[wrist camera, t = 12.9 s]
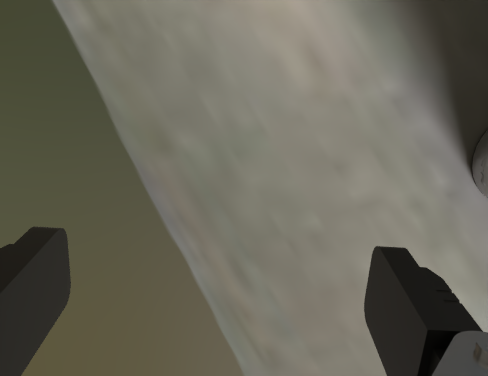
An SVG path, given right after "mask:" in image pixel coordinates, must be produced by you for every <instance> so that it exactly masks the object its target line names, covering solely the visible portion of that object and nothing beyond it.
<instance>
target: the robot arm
mask: <svg viewBox="0 0 488 376" xmlns="http://www.w3.org/2000/svg"><path fill="white" fill-rule="evenodd" d="M472 170H473V177H474V180H475V183H476V185H477V187H478V188H479V190H480V191H481V193H482V194H484V195H485V196H486V197H487V198H488V130H487V131H486V133H485V134H484V135H483V136H482V138H481V140H480V141H479V143H478V145H477V147H476V150H475V153H474V156H473V163H472ZM69 268H70V267H69V255H68V241H67V234H66V232H65V230H64V229H63V228H48V227H32V228H30V229H29V230H28V231H27V232H26V233H25V234H24V235H23V236H22V237H21V238H20V239H19V240H18V241H17V242H15V243H14V244H9V245H6V246H4V247H2V248H0V376H21V375H22V373H23V372H24V370H25V369H26V367H27V365H28V364H29V362H30V361H31V359H32V358H33V356H34V355H35V353H36V351H37V350H38V348H39V347H40V345H41V344H42V342H43V341H44V339H45V337H46V336H47V334H48V333H49V331H50V329H51V328H52V327H53V325H54V323H55V322H56V320H57V319H58V317H59V316H60V314H61V313H62V311H63V310H64V308H65V306H66V304H67V302H68V298H69V294H70V286H71V285H70V284H71V282H70V269H69ZM364 312H365V320H366V323H367V326H368V329H369V331H370V334H371V336H372V339H373V341H374V344H375V346H376V349H377V351H378V354H379V356H380V359H381V361H382V364H383V366H384V369H385V371H386V374H387V376H488V333H486V332H483V331H482V330H481V328H480V327H479V326H478V324H477V323H476V322H475V321H474V319H473V318H472V317H471V315H470V314H469V313H468V311H467V310H466V309H465V307H464V306H463V305H462V304H460V303H459V300H458V298H457V297H456V296H455V294H454V293H452V290H451V289H450V288H449V287H448V285H447V284H446V283H445V281H444V280H443V279H442V278H441V277H439V276H438V275H436V274H435V273H434V272H432V271H431V270H429V269H428V268H425V267H419V265H418V264H417V263H416V261H415V260H414V258H413V257H412V256H411V254H410V253H409V251H408V250H407V249H406V248H398V247H380V246H376V247H375V248H374V250H373V254H372V259H371V265H370V271H369V277H368V283H367V289H366V295H365V302H364Z"/></svg>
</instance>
